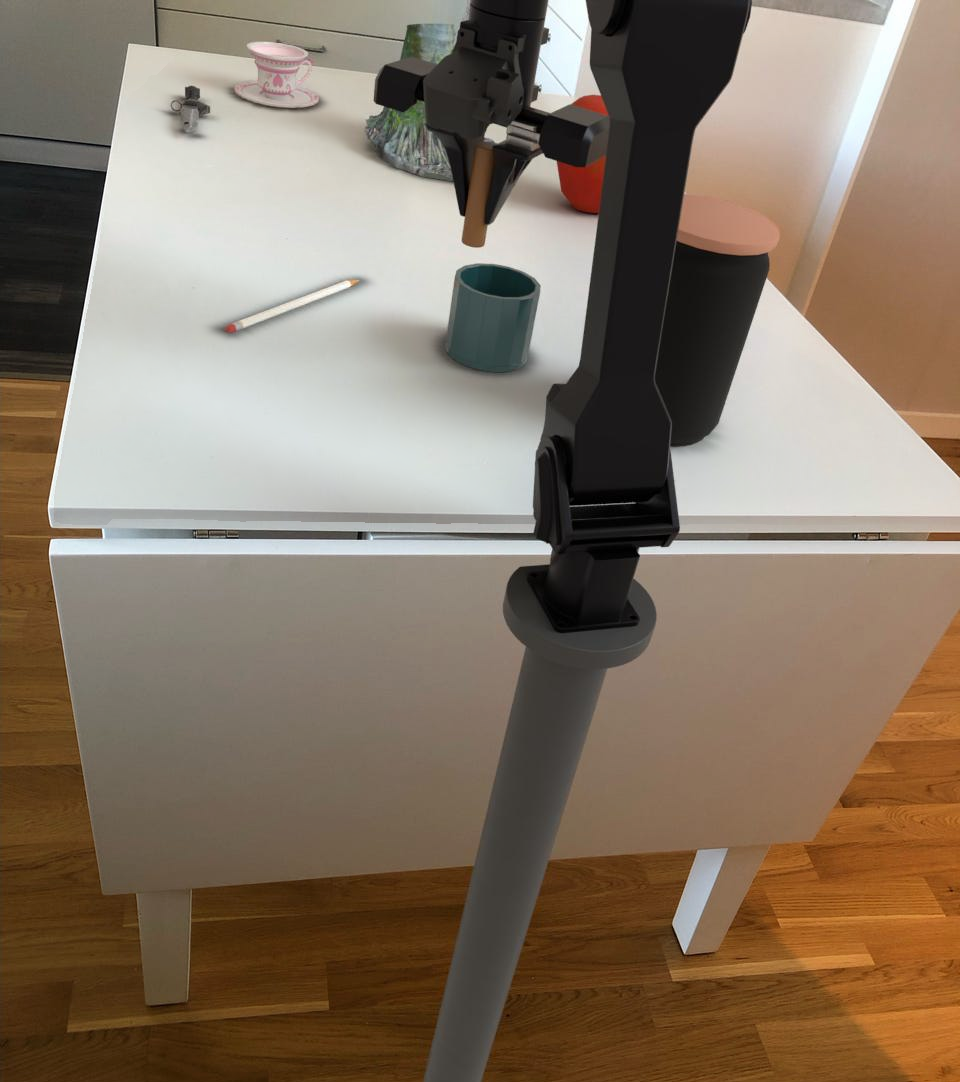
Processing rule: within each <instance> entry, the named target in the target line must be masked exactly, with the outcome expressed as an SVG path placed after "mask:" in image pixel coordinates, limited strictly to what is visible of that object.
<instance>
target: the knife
mask: <svg viewBox="0 0 960 1082" xmlns="http://www.w3.org/2000/svg"><path fill="white" fill-rule="evenodd" d="M200 89H201V88H199V87H197V86H195V85H188V86H185V87H184V97H185V99H184V101H183V102H182V103H181V102H180V100H177V99H174V100H172V101H171V103H170V108H171V110H172V111H173V112H176V113H178V112H181V113H180V119H179V123H180V124H181V126H182V128H183V130H184V132H185V134H188V133H191V132H194V131H195V130H197V128H198V125H199V117H202V116H205V115H208V114H210V113H211V106H210V105H209V104H206V103H205V102H202V101H200V98H201V90H200ZM174 103H178V104H179V105H180V107H179V109H175V108H173V104H174Z"/></svg>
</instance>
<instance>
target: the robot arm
mask: <svg viewBox="0 0 960 1082" xmlns="http://www.w3.org/2000/svg"><path fill="white" fill-rule="evenodd" d="M548 6H549V0H470V4H469V11H468V19H465V20H462V21H460V23H459V29H458V30H457V33H456V34H457V35H456V42H455V44H454V45H453V46H454V49H453V51H452V53H451V54H449V55H447V56H445V57H444V58H443V59H442V60H441V61H440V62H439V63H438V64H434V63H431V62H428V61H424V60H421V59H418V58H414V57H409V58H406V59H402V60H400V59H399V60H396V61H393V62H389V63H386V64H384V65H383V66H382V67H380V69H379V70H378V73H377V75H376V76H375V79H374V87H373V88H374V89H373V100H372V101H373V102H374V104H375V105H378V106H381V107H383V108H384V107H387V108H391V109H394V110H397V111H400V112H403V113H404V112H407V111H408V110H409V109H411V108H412V107H413V106H414V105H416V104H417V100H419V101H423V102H424V105H425V127H426V129H427V130H428V131H430V132H433V133H434V134H435V135H436V136H437V137H438V139H439V140H440V141H441V143H442V144H443V146H444V147H445V150H446V153H447V157H448V160H449V163H450V167H451V172H452V177H453V181H452V182H453V187H454V191H455V196H456V202H457V207H458V212H459V215H460V217H463V218H465V212H466V205H467V199H468V192H469V185H470V178H471V171H472V164H473V157H474V150H475V144H476V142H480V141H484V137H485V135H486V133H487V130H488V128H489V127H490V125H493V124H494V125H497V126H500V127H503V128H506V132H505V134H506V137H505V139H504V140H502V141H501V142H497V144H496V145H494V146H493V147H492V148H493V154H494V159H495V165H494V170H493V175H492V180H491V184H490V189H489V194H488V198H487V203H486V209H485V221H484V222H485V224H487V225H488V226H491V224H493V223H494V222H495V221H496V218H497V217H498V215H499V213H500V212H501V210H502V208H503V206H504V205H505V203H506V202H507V200H508V198H509V197H510V195H511V193H512V191H513V189H514V187H515V186H516V184H517V183H518V180H519V179H520V177H521V176H522V175H523V173H524V171H525V170H526V169H527V167H528V166H529V165H530V163H531V162H532V160H534V159H535V158H537V157H539V156H541V155H542V154H543V156H544V157H545V158H546V159H549V160H551V161H552V160H553V161H556V162H557V161H558V162H561V163H565V164H568V165H571V166H574V167H584V168H585V167H587V166H589V165H590V164H592V163H594V162H596V161H597V160H599V159H601V158H602V157H604V156H606V160H605V168H604V176H603V184H602V192H601V200H600V207H599V213H598V216H597V224H596V232H595V240H594V246H593V247H594V248H593V254H592V255H593V256H592V263H591V272H590V278H589V287H588V296H587V302H586V311H585V319H584V325H583V334H582V342H581V350H580V356H579V363H578V366H577V368H576V369H575V371H574V372H573V373H572V375H571V376H569V378H568V379H567V381H566V382H565V383H553V384H552V385H551V387H550V388H549V391H548V393H547V394H546V397H545V413H544V423H543V428H542V433H541V436H540V439H539V440H540V441H539V444H538V446H537V449H536V450H535V461H534V477H533V492H532V493H533V494H532V509H533V513H532V515H533V518H534V520H535V524H534V528H533V535H534V537H535V539H536V540H538V541H541V542H543V543H545V544H547V545H548V544H549V545H550V547H551V553H550V559H549V563H548V564H549V567H548V570H543V571H531V572H529V573H528V575H527V581H528V583H529V585H530V587H531V589H532V590H533V592H534V594H535V596H536V598H537V599H538V601H539V603H540V605H541V607H542V609H543V610H544V612H545V614H546V616H547V618H548V620H549V621H550V623H551V625H552V627H553V629H554V630H555V631H556V632H558V633H572V632H582V631H592V630H602V629H612V628H623V627H633V626H637V625H638V624H639V620H640V617H639V615H638V614H637V612H636V611H635V609H634V608H633V606H632V605H631V603H630V601H629V600H628V594H629V591H630V588H631V584H632V581H633V578H634V579H635V574H636V572H637V568H638V565H639V562H640V559H641V558H640V557H641V555H640V553H639V552H640V548H641V549H642V548H654V547H660V548H669V547H670V546H671V545H672V543H673V542H674V540H675V539H676V538H677V536H678V535H679V533H680V531H681V523H680V516H679V508H678V500H677V491H676V483H675V476H674V475H675V474H674V466H673V460H672V459H673V458H672V451H671V446H670V441H671V429H672V421H671V418H670V416H669V413H668V411H667V409H666V406H665V404H664V401H663V399H662V397H661V394H660V392H659V390H658V387H657V385H656V382H655V372H656V365H657V359H658V353H659V346H660V340H661V334H662V328H663V322H664V316H665V309H666V303H667V297H668V291H669V285H670V279H671V272H672V266H673V260H674V254H675V248H676V242H677V235H678V229H679V223H680V217H681V211H682V204H683V198H684V194H685V191H686V185H687V179H688V173H689V168H690V162H691V161H690V160H691V154H692V149H693V143H694V137H695V134H696V133H695V132H696V129H697V127H698V126H699V124H700V123H701V122H702V121H703V119H704V118H705V116H706V115H707V114H708V112H709V111H710V110H711V108H712V107H713V106H714V104H715V103H716V101H717V100H718V99H719V97H720V96H721V94H722V93H723V92H724V91H725V89H726V88H727V86H728V85H729V84H730V82H731V81H732V78H733V75H734V71H735V69H736V64H737V60H738V55H739V52H740V48H741V45H742V40H743V37H744V34H745V32H746V30H747V27H748V24H749V21H750V20H751V19H750V18H751V14H752V13H751V12H752V7H753V0H585V6H586V12H587V18H588V22H589V25H590V31H591V32H590V49H589V68H590V71H591V73H592V76H593V78H594V82H595V83H596V87H597V89H598V91H599V95H601V97H602V99H603V102H604V104H605V107H606V109H607V112H608V114H609V116H607V115H604V114H601V113H597V112H594V111H591V110H587V109H584V108H581V107H577V106H574V105H571V104H572V103H570V104H567V105H565V106H563V107H561V108H559V109H557V110H554V111H552V112H548V111H545V110H541V109H538V108H535V107H532V106H531V104H532V103H533V102H536V101H537V100H538V96H539V92H540V91H539V90H540V86H539V85H535V81H536V75H537V70H538V65H539V60H540V59H539V58H540V53H541V46H543V45H545V44H548V40H549V39H548V38H549V34H550V28H548V27H545V24H546V17H547V13H548ZM609 117H610V118H609Z"/></svg>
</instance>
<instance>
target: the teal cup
mask: <svg viewBox="0 0 960 1082" xmlns="http://www.w3.org/2000/svg"><path fill="white" fill-rule="evenodd" d="M453 279H454V280H453V287H452V294H451V301H450V307H449V315H448V321H447V322H448V323H447V330H446V337H445V351H446V353H447V354H448V355H449V357H450V358H451V359H453V360H454V361H456V362H457V363H459V364H461V365H463V366H466V367H468V368H471V369H474V370H479V371H483V372H490V373H491V372H492V373H505V372H512V371H515V370H518V369H520V368H523V367H524V365H526V363H527V360H528V357H529V352H530V347H531V342H532V338H533V337H532V336H533V332H534V327H535V322H536V316H537V312H538V307H539V306H538V305H539V300H540V295H541V287H542V286H541V284H540V283H539V281H538V280H537V279H536V278H535V277H533V276H532V275H530V274H528V273H527V272H525V271H523V270H520V269H517V268H515V267H511V266H507V265H502V264H496V263H480V262H479V263H478V262H477V263H472V264H471V263H470V264H465V265H462V266H461V267H459V268H458V269H456V270H455V274H454V278H453Z"/></svg>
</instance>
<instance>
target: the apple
mask: <svg viewBox="0 0 960 1082" xmlns="http://www.w3.org/2000/svg"><path fill="white" fill-rule="evenodd" d="M570 104H571V105H574V106H577V107H581V108H584V109H587V110H591V111H594V112H597V113H601V114H604V115H607V116H609V114H608V112H607V109H606V107H605V104H604V102H603V99H602V97H601V94H588V95H582V96H581V97H578V98H577V99H576V100H575V101H573V102H572V103H570ZM609 118H610V117H609ZM605 160H606V156H604V157H602V158H601V159H599V160H597V161H596V162H594V163H592V164H590V165H589V166H587V167H585V168H584V167H574V166H571V165H568V164H565V163H561V162H558V161H556V166H557V172H558V179H559V180H558V181H559V185H560V192H561V194H563V196H564V198H565V199H566V200H567V201H568V203H569V204H570V206H572V208H573V209H576V210H578V211H581V212H584V213H591V214H592V213H593V214H599V207H600V200H601V192H602V184H603V176H604V168H605Z"/></svg>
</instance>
